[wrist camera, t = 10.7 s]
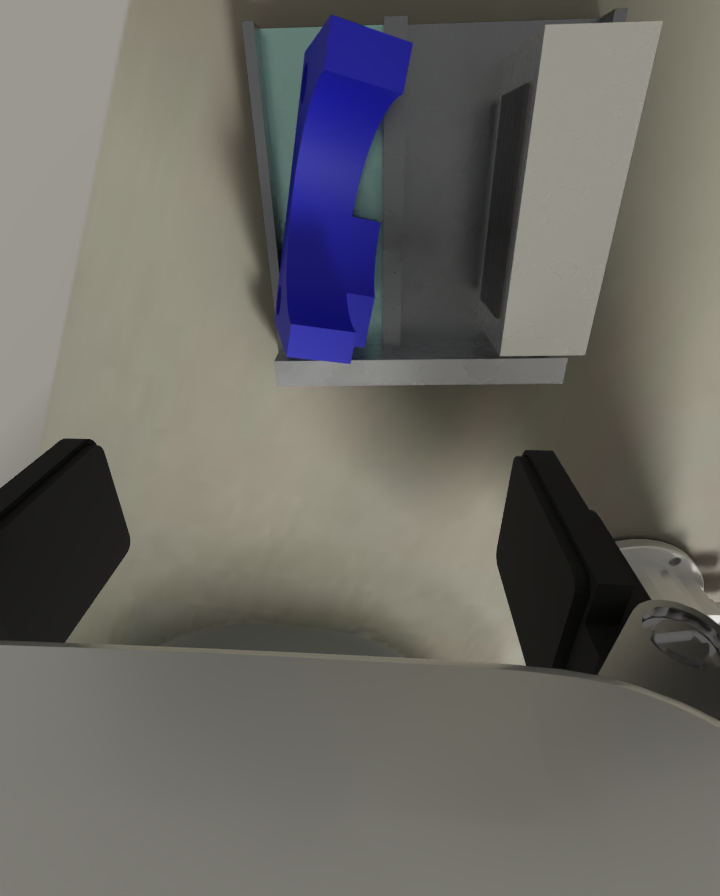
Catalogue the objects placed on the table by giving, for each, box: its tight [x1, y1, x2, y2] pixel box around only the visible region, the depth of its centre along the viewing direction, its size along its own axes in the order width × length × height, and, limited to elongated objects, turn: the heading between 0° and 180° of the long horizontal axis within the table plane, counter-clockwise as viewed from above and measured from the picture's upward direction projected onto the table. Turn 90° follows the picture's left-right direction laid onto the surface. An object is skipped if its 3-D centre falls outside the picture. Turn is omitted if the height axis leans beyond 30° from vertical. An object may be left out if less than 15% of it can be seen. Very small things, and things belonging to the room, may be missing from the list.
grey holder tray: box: [241, 8, 663, 386], centre depth 23 cm, size 16×16×7 cm
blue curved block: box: [274, 15, 413, 364], centre depth 22 cm, size 12×4×6 cm, turn 169°
